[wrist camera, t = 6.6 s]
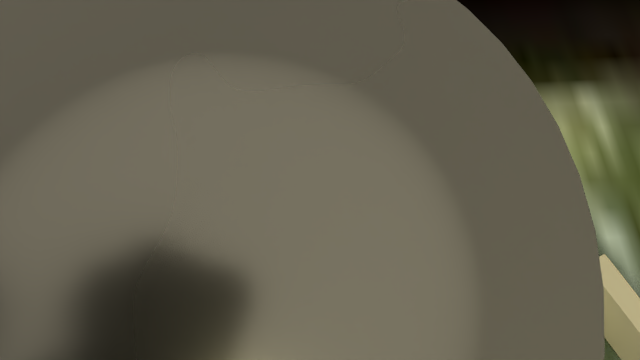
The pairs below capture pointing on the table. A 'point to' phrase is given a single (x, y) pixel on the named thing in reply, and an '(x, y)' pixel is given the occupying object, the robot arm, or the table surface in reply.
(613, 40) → the table surface
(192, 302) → the disc
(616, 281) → the frame
